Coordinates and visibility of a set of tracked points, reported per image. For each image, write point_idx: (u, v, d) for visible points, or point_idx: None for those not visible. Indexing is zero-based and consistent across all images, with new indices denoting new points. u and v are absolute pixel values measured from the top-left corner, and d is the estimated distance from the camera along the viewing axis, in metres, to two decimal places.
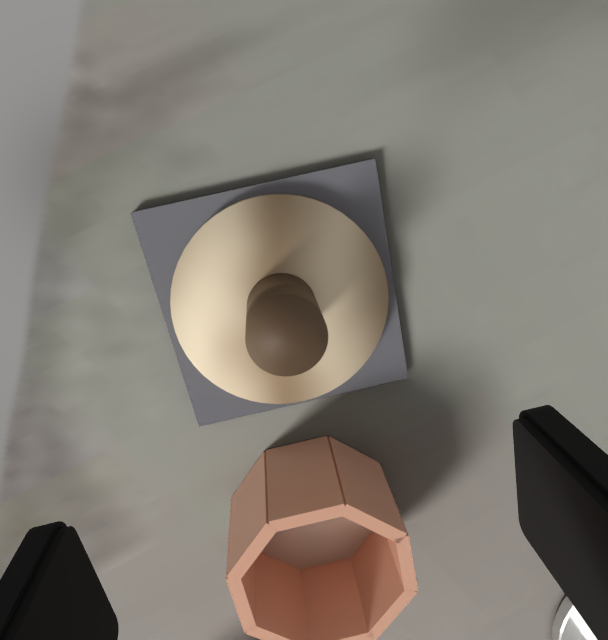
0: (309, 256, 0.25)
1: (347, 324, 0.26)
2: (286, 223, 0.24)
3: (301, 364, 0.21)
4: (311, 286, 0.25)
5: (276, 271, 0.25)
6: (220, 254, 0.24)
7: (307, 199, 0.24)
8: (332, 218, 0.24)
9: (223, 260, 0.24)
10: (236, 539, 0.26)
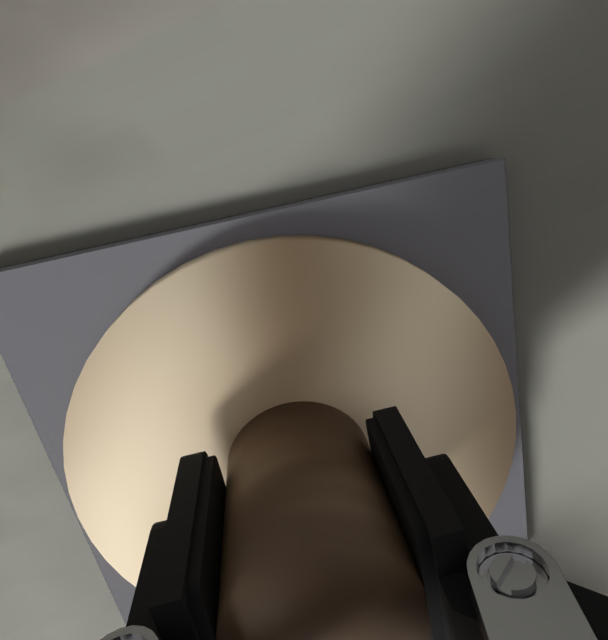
0: (360, 367, 0.12)
1: None
2: (312, 302, 0.11)
3: None
4: (362, 425, 0.12)
5: (288, 398, 0.12)
6: (167, 368, 0.11)
7: (359, 250, 0.11)
8: (412, 289, 0.11)
9: (174, 381, 0.11)
10: None
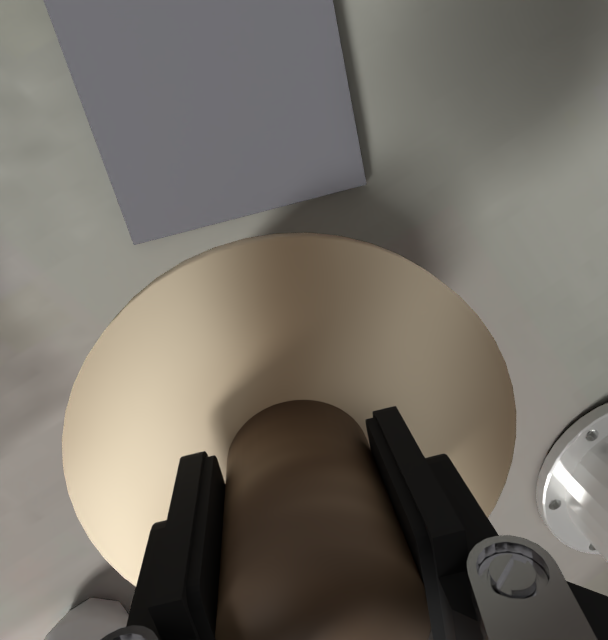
0: (359, 365, 0.11)
1: None
2: (311, 301, 0.11)
3: None
4: (361, 423, 0.12)
5: (288, 397, 0.12)
6: (166, 365, 0.11)
7: (359, 248, 0.11)
8: (412, 287, 0.11)
9: (173, 380, 0.11)
10: None
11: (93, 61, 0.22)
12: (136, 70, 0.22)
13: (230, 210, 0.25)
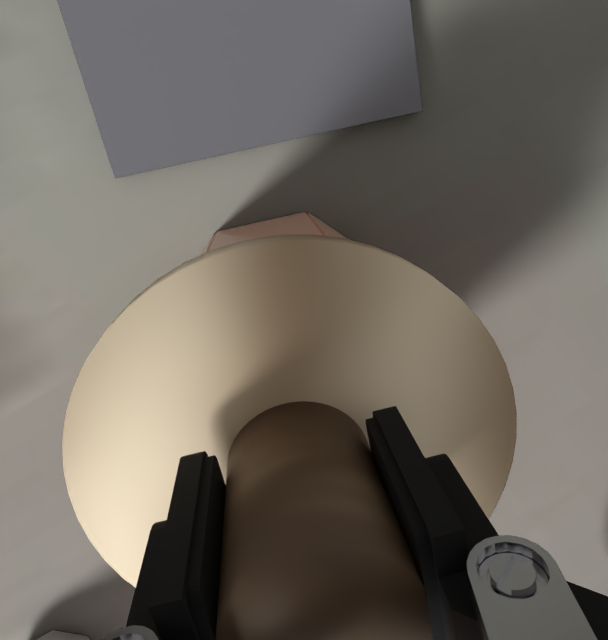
0: (360, 367, 0.11)
1: None
2: (311, 302, 0.11)
3: None
4: (362, 425, 0.12)
5: (288, 398, 0.12)
6: (166, 367, 0.11)
7: (360, 249, 0.11)
8: (412, 289, 0.11)
9: (173, 382, 0.11)
10: None
11: None
12: None
13: (242, 137, 0.19)
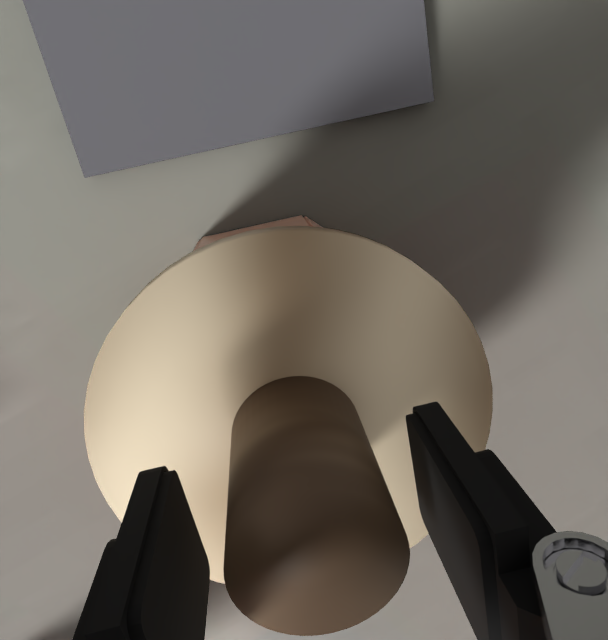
0: (350, 345, 0.13)
1: None
2: (307, 286, 0.12)
3: (348, 611, 0.10)
4: (352, 398, 0.13)
5: (286, 373, 0.13)
6: (178, 344, 0.12)
7: (349, 239, 0.12)
8: (397, 274, 0.12)
9: (184, 357, 0.12)
10: None
11: None
12: None
13: (230, 131, 0.17)
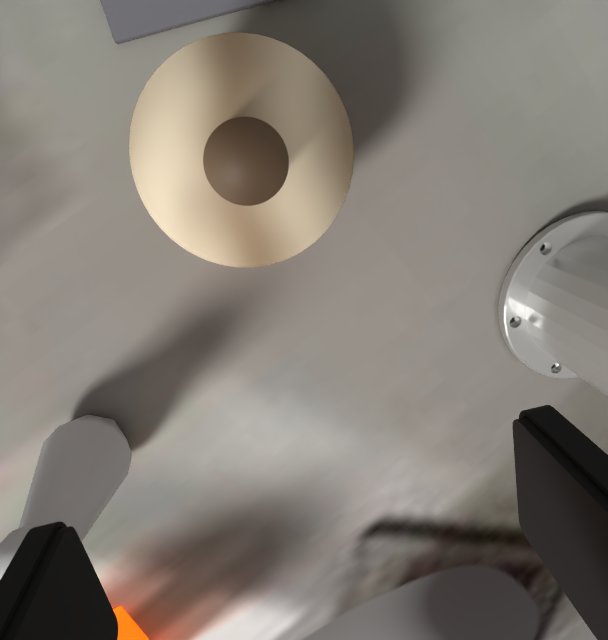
0: (269, 101, 0.24)
1: (314, 176, 0.25)
2: (242, 65, 0.23)
3: (263, 191, 0.21)
4: None
5: None
6: (176, 101, 0.23)
7: (262, 37, 0.23)
8: (289, 57, 0.23)
9: (180, 109, 0.24)
10: None
11: None
12: None
13: (200, 8, 0.28)
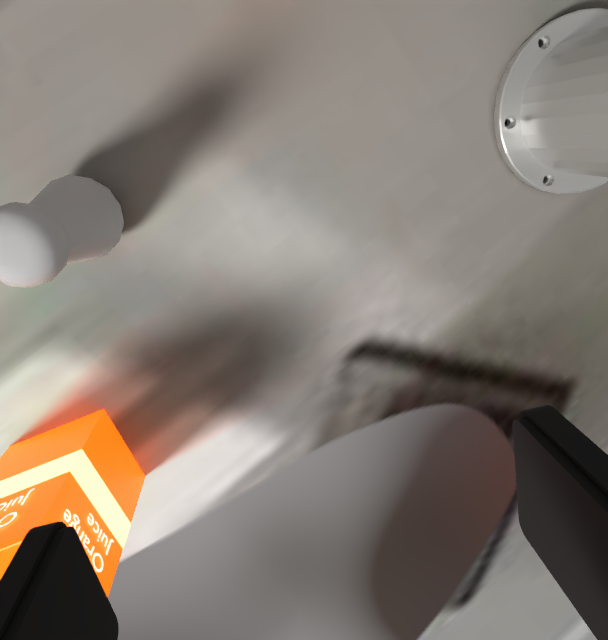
0: None
1: None
2: None
3: None
4: None
5: None
6: None
7: None
8: None
9: None
10: None
11: None
12: None
13: None
